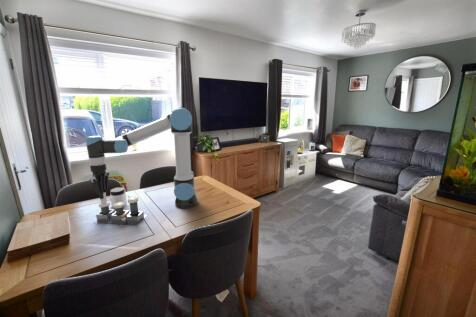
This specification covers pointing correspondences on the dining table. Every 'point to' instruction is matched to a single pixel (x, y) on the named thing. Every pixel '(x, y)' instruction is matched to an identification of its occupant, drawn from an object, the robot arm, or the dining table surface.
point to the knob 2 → (133, 205)
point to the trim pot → (123, 218)
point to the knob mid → (119, 208)
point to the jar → (118, 196)
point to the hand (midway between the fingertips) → (104, 203)
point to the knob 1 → (105, 207)
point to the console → (119, 218)
